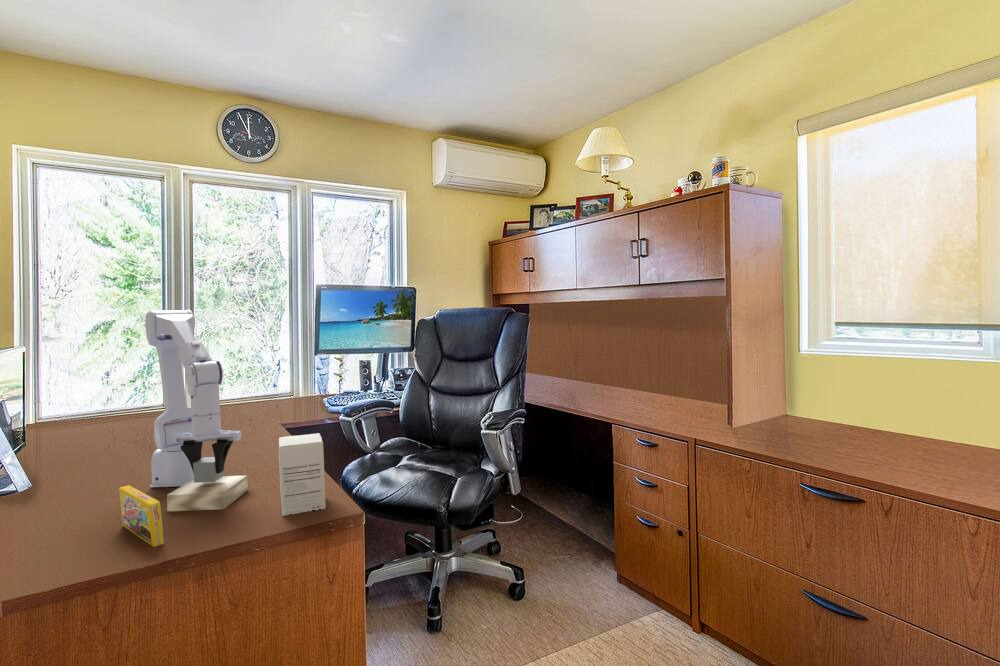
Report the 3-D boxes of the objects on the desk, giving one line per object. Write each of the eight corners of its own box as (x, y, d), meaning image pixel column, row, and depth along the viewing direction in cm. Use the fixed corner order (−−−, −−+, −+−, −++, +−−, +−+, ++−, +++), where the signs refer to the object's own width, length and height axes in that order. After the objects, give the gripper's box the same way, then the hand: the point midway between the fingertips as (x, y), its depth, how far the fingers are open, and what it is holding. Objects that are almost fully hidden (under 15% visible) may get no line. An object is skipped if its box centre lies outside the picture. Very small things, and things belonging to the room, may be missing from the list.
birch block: (167, 513, 112) (166, 495, 112) (197, 493, 124) (196, 477, 124) (224, 510, 113) (223, 492, 113) (247, 491, 125) (247, 475, 125)
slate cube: (194, 482, 116) (193, 463, 116) (204, 476, 121) (203, 457, 120) (214, 481, 116) (213, 462, 116) (224, 475, 121) (223, 456, 121)
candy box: (120, 527, 104) (118, 487, 104) (132, 523, 106) (130, 484, 106) (151, 548, 94) (149, 504, 94) (164, 544, 96) (162, 500, 96)
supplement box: (280, 502, 116) (278, 436, 115) (322, 496, 120) (320, 432, 119) (281, 516, 108) (278, 446, 107) (326, 509, 111) (323, 441, 111)
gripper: (162, 418, 113) (165, 479, 114) (230, 416, 114) (232, 476, 114) (180, 412, 120) (183, 469, 121) (244, 410, 121) (246, 467, 122)
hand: (208, 472), depth 118 cm, fingers closed on slate cube, 4 cm apart
